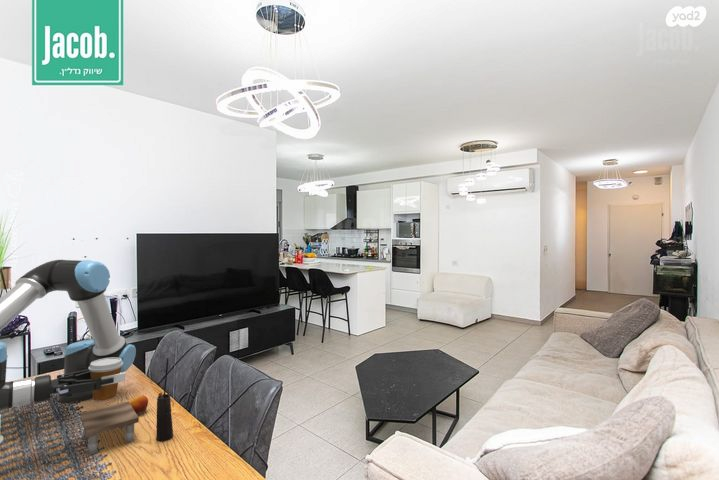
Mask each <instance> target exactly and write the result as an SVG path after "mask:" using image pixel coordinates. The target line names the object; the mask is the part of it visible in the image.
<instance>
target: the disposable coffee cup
mask: <svg viewBox="0 0 719 480" xmlns="http://www.w3.org/2000/svg"><path fill="white" fill-rule="evenodd" d="M122 365H123V362H122V359H121V358H116V357H111V358H103V359H98V360H95V361H93V362H91V364H90V366H89V371H90V375H91V379H99V378H100V379H101V377H104V376H109V375H114V374H120V371H121V366H122ZM118 385H119V382H118V383H114V384H109V385H104V386H101V389H100V390H92V393H93V398H92V399H93V401H96V402H99V401H100V402H102V401H108V400H110V399H113V398H116V396H117V391H118V387H119V386H118Z"/></svg>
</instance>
